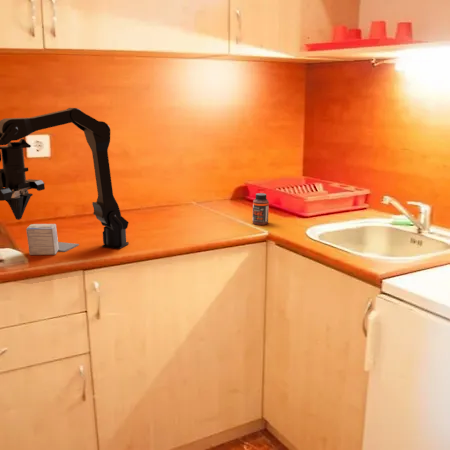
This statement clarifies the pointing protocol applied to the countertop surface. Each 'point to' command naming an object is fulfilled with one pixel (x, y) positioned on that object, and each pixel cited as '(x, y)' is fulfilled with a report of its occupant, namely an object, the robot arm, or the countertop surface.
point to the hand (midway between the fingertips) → (18, 219)
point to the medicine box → (42, 239)
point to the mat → (66, 246)
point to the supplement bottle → (260, 209)
